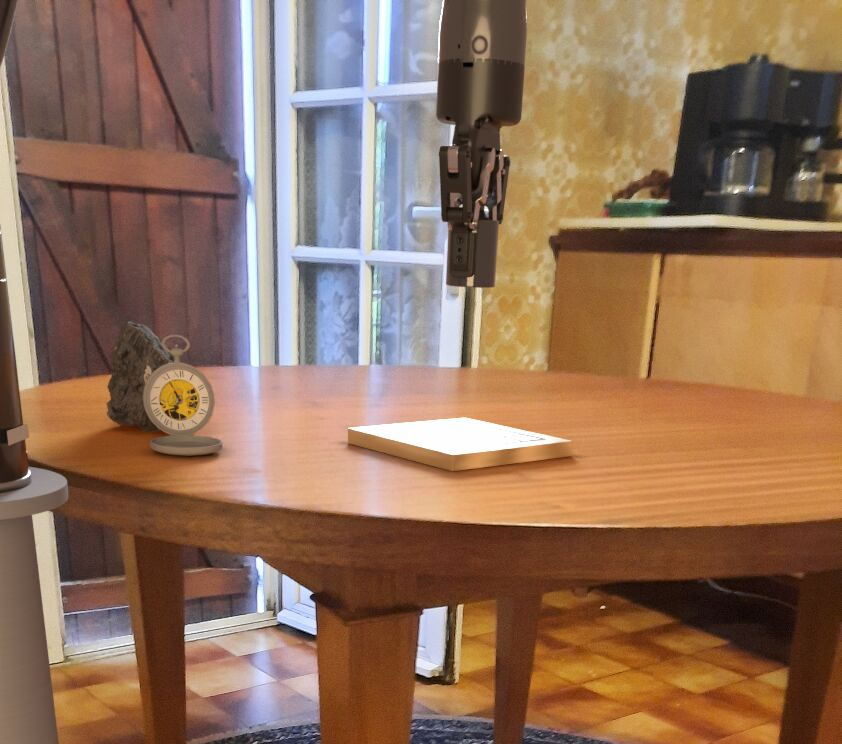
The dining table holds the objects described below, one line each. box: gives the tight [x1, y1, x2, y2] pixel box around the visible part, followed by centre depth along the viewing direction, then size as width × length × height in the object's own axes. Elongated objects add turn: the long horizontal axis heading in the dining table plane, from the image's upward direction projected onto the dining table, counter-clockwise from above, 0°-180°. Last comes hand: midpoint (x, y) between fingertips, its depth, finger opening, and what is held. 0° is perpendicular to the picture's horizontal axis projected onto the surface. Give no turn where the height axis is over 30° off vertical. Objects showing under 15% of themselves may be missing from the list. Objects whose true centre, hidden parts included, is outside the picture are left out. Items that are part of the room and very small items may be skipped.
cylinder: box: [445, 220, 500, 289], centre depth 99 cm, size 5×5×6 cm
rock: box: [106, 320, 198, 432], centre depth 111 cm, size 12×10×10 cm
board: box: [347, 417, 574, 472], centre depth 107 cm, size 16×16×2 cm
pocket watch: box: [143, 334, 223, 457], centre depth 99 cm, size 8×8×10 cm
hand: (470, 275), depth 100 cm, fingers closed on cylinder, 4 cm apart
